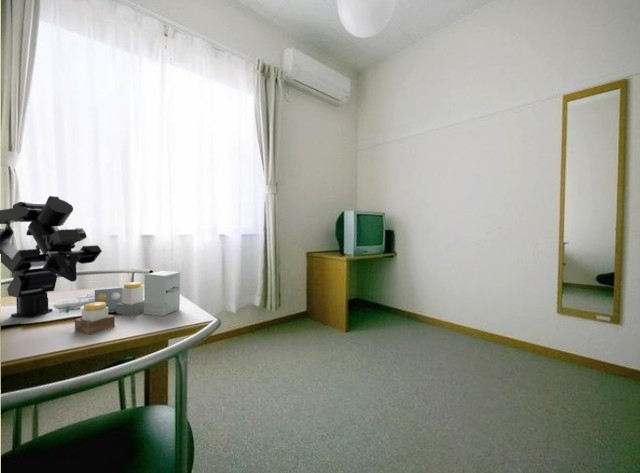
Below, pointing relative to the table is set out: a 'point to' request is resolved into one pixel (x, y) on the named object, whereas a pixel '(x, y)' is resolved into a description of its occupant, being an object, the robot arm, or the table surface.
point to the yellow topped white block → (132, 293)
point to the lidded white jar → (94, 311)
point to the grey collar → (130, 308)
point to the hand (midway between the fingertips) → (74, 280)
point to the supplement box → (161, 292)
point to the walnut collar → (94, 325)
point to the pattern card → (109, 297)
